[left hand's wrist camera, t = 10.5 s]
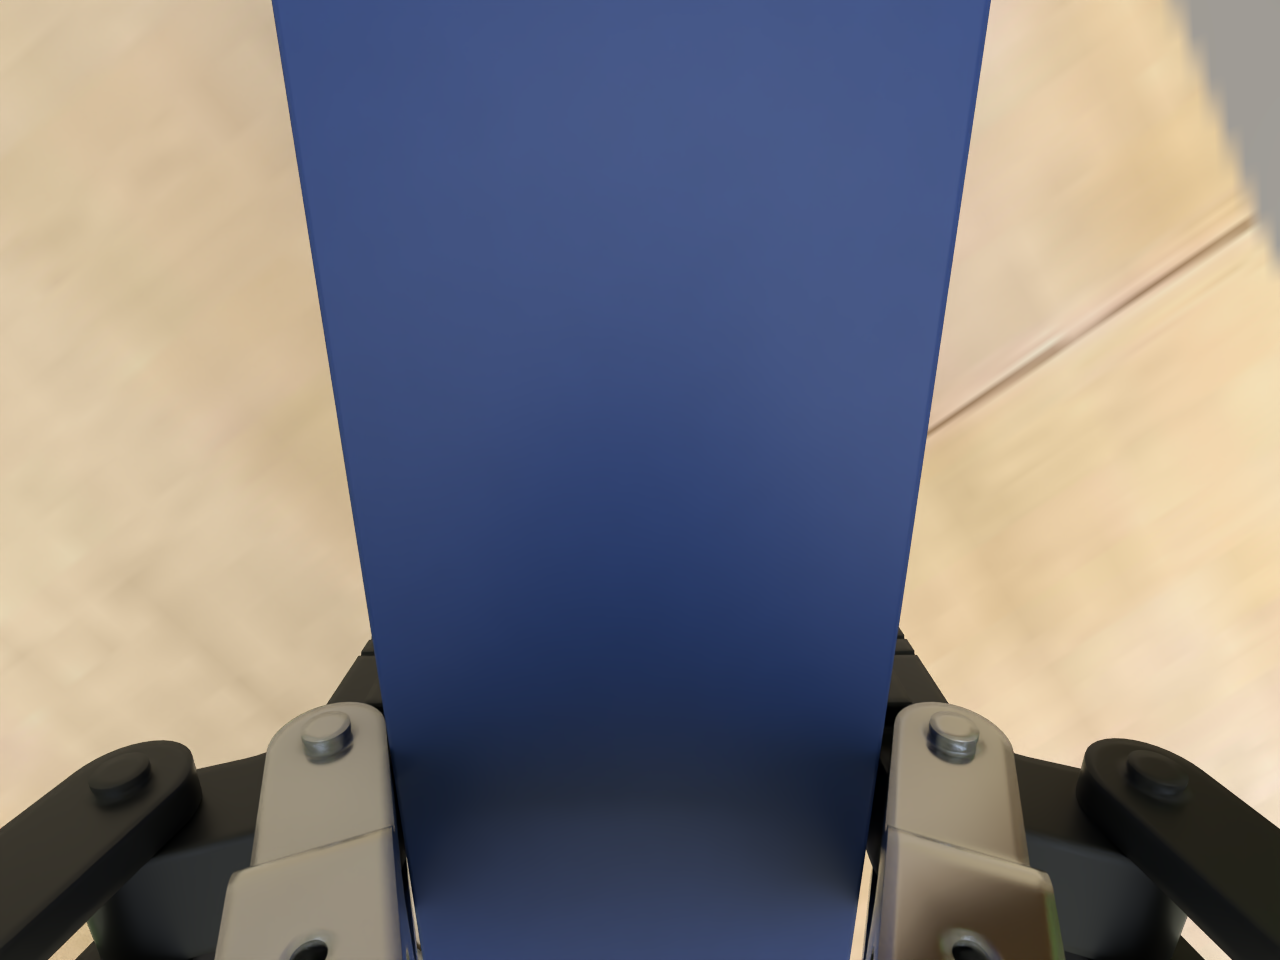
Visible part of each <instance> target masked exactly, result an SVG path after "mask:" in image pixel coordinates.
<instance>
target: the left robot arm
mask: <svg viewBox="0 0 1280 960" xmlns="http://www.w3.org/2000/svg"><path fill="white" fill-rule="evenodd" d="M866 850H867V853H868V856H869V859H870V861H871V864H872V871H871V878H870V886H869V895H868V905H867V915H866V924H865V934H864V943H863V953H862V960H1205V959H1204V958H1203V957H1202V956H1201V955H1200V954H1199V953H1198V952H1197V951H1196V950H1195V949H1194V948H1193V947H1192V946H1191V945H1190V944H1189V943H1188V942H1187V941H1186V940H1185V939H1184V938H1183V937H1182V936H1181V932H1182V930H1183V927H1184V924H1185V922H1186V919H1187V916H1188V917H1189V918H1190V919H1191V920H1192V921H1193V922H1194V923H1195V924H1196V925H1197V926H1198V927H1199V928H1200V929H1201V930H1202V931H1203V932H1204V933H1205V934H1206V935H1207V936H1208V937H1209V938H1210V939H1212V940H1213V941H1214V942H1215V943H1216V944H1217V945H1218V946H1219V947H1220V948H1221V949H1222V950H1223V951H1224V952H1225V953H1226V954H1227V955H1228V956H1229V957H1230V958H1231V959H1232V960H1280V829H1279V828H1278V827H1277V826H1275V825H1274V824H1273V823H1271V822H1270V821H1269V820H1267V819H1266V818H1265V817H1263V816H1262V815H1261V814H1259V813H1258V812H1257V811H1255V810H1254V809H1253V808H1251V807H1250V806H1249V805H1247V804H1246V803H1245V802H1244V801H1242V800H1241V799H1240V798H1238V797H1237V796H1236V795H1234V794H1233V793H1232V792H1230V791H1229V790H1228V789H1226V788H1225V787H1224V786H1222V785H1221V784H1220V783H1218V782H1217V781H1216V780H1215V779H1213V778H1212V777H1211V776H1209V775H1208V774H1207V773H1205V772H1204V771H1203V770H1201V769H1200V768H1198V767H1197V766H1195V765H1194V764H1193V763H1191V762H1189V761H1187V760H1186V759H1184V758H1182V757H1180V756H1178V755H1176V754H1174V753H1172V752H1170V751H1168V750H1165V749H1163V748H1160V747H1157V746H1154V745H1151V744H1148V743H1144V742H1140V741H1136V740H1130V739H1119V738H1112V739H1103V740H1100V741H1097V742H1095V743H1093V744H1091V745H1090V746H1089V747H1088V748H1087V750H1086V752H1085V756H1084V759H1083V763H1082V766H1081V769H1080V768H1075V767H1071V766H1066V765H1062V764H1057V763H1053V762H1048V761H1044V760H1039V759H1034V758H1030V757H1026V756H1022V755H1018V754H1015V753H1014V752H1013V749H1012V745H1011V743H1010V741H1009V740H1008V738H1007V737H1006V736H1005V734H1004V733H1003V732H1002V731H1001V730H1000V729H999V728H998V727H997V726H996V725H994V724H993V723H992V722H990V721H989V720H988V719H986V718H984V717H983V716H981V715H979V714H977V713H975V712H973V711H971V710H968V709H965V708H963V707H959V706H956V705H952V704H948V702H947V700H946V699H945V697H944V696H943V694H942V693H941V691H940V690H939V688H938V687H937V685H936V684H935V682H934V680H933V679H932V677H931V676H930V674H929V673H928V671H927V670H926V668H925V667H924V665H923V664H922V662H921V660H920V659H919V657H918V656H917V655H915V654H914V650H913V648H912V647H911V645H910V644H909V642H908V640H907V639H904V634H903V633H902V631H901V630H900V628H898V634H897V641H896V648H895V655H894V662H893V668H892V675H891V682H890V689H889V696H888V702H887V709H886V716H885V723H884V729H883V736H882V743H881V750H880V757H879V763H878V770H877V777H876V784H875V791H874V797H873V804H872V811H871V818H870V825H869V831H868V838H867V845H866ZM406 857H407V856H406V849H405V843H404V837H403V830H402V824H401V818H400V811H399V805H398V799H397V792H396V786H395V780H394V773H393V767H392V761H391V754H390V748H389V741H388V735H387V729H386V722H385V716H384V710H383V703H382V697H381V691H380V684H379V678H378V672H377V665H376V659H375V653H374V646H373V640H372V639H371V640H369V641H368V642H367V644H366V645H365V647H364V648H363V650H362V652H361V656H358V658H357V659H356V661H355V662H354V664H353V665H352V667H351V668H350V670H349V671H348V673H347V674H346V676H345V677H344V679H343V680H342V682H341V683H340V685H339V686H338V688H337V689H336V691H335V692H334V694H333V696H332V697H331V699H330V700H329V702H328V703H327V705H324V706H321V707H318V708H315V709H312V710H309V711H307V712H305V713H303V714H301V715H299V716H298V717H296V718H294V719H292V720H291V721H290V722H288V723H287V724H286V725H284V726H283V727H282V728H281V729H280V730H279V731H278V732H277V733H276V734H275V736H274V737H273V738H272V740H271V741H270V743H269V745H268V749H267V752H266V753H263V754H260V755H257V756H253V757H250V758H246V759H241V760H237V761H232V762H228V763H223V764H219V765H214V766H210V767H205V768H201V769H196V767H195V763H194V760H193V756H192V754H191V751H190V750H189V749H188V748H187V747H186V746H184V745H183V744H181V743H178V742H174V741H165V740H160V741H148V742H142V743H138V744H133V745H130V746H127V747H123V748H120V749H118V750H115V751H113V752H110V753H108V754H105V755H103V756H101V757H99V758H97V759H95V760H94V761H92V762H90V763H88V764H87V765H85V766H83V767H82V768H81V769H79V770H78V771H76V772H75V773H73V774H72V775H71V776H69V777H68V778H67V779H65V780H64V781H63V782H61V783H60V784H59V785H58V786H56V787H55V788H54V789H52V790H51V791H50V792H48V793H47V794H46V795H44V796H43V797H42V798H40V799H39V800H38V801H36V802H35V803H34V804H32V805H31V806H30V807H29V808H27V809H26V810H25V811H23V812H22V813H21V814H19V815H18V816H17V817H15V818H14V819H13V820H11V821H10V822H9V823H7V824H6V825H5V826H3V827H2V828H1V829H0V960H48V959H49V958H50V957H51V956H52V955H53V954H54V953H55V952H56V951H57V950H58V949H59V948H60V947H61V946H62V945H63V944H64V943H65V942H66V941H67V940H68V939H69V938H70V937H72V936H73V935H74V934H75V933H76V932H77V931H78V930H79V929H80V928H81V927H82V926H83V925H84V924H85V923H86V922H87V924H88V927H89V929H90V932H91V934H92V937H93V940H94V941H93V942H92V943H91V944H90V945H89V946H88V947H87V948H86V949H85V950H84V951H83V952H82V953H81V954H80V955H79V956H78V957H77V958H76V959H75V960H423V957H422V952H421V951H420V950H419V949H418V948H417V943H416V934H415V924H414V915H413V905H412V895H411V886H410V878H409V871H408V865H407V858H406Z"/></svg>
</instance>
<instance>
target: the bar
mask: <svg viewBox="0 0 1280 960" xmlns="http://www.w3.org/2000/svg"><path fill="white" fill-rule="evenodd" d="M990 3H991V0H272V5H273V12H274V18H275V24H276V31H277V37H278V44H279V50H280V56H281V63H282V69H283V75H284V82H285V88H286V94H287V101H288V107H289V113H290V120H291V126H292V132H293V139H294V145H295V151H296V158H297V164H298V170H299V177H300V183H301V189H302V196H303V202H304V209H305V215H306V221H307V228H308V234H309V240H310V247H311V253H312V259H313V266H314V272H315V278H316V285H317V291H318V297H319V304H320V310H321V316H322V323H323V329H324V335H325V342H326V348H327V354H328V361H329V367H330V373H331V380H332V386H333V393H334V399H335V405H336V412H337V418H338V424H339V431H340V437H341V443H342V450H343V456H344V462H345V469H346V475H347V481H348V488H349V494H350V500H351V507H352V513H353V519H354V526H355V532H356V538H357V545H358V551H359V557H360V564H361V570H362V577H363V583H364V589H365V596H366V602H367V608H368V615H369V621H370V627H371V634H372V640H373V646H374V653H375V659H376V665H377V672H378V678H379V684H380V691H381V697H382V703H383V710H384V716H385V722H386V729H387V735H388V741H389V748H390V754H391V761H392V767H393V773H394V780H395V786H396V792H397V799H398V805H399V811H400V818H401V824H402V830H403V837H404V843H405V849H406V856H407V862H408V868H409V875H410V881H411V887H412V894H413V900H414V906H415V913H416V919H417V925H418V932H419V938H420V945H421V951H422V957H423V960H850V954H851V947H852V940H853V933H854V926H855V920H856V913H857V906H858V899H859V892H860V886H861V879H862V872H863V865H864V859H865V852H866V845H867V838H868V831H869V825H870V818H871V811H872V804H873V797H874V791H875V784H876V777H877V770H878V763H879V757H880V750H881V743H882V736H883V729H884V723H885V716H886V709H887V702H888V696H889V689H890V682H891V675H892V668H893V662H894V655H895V648H896V641H897V634H898V628H899V621H900V614H901V607H902V600H903V594H904V587H905V580H906V573H907V567H908V560H909V553H910V546H911V539H912V533H913V526H914V519H915V512H916V505H917V499H918V492H919V485H920V478H921V471H922V465H923V458H924V451H925V444H926V437H927V431H928V424H929V417H930V410H931V404H932V397H933V390H934V383H935V376H936V370H937V363H938V356H939V349H940V342H941V336H942V329H943V322H944V315H945V308H946V302H947V295H948V288H949V281H950V274H951V268H952V261H953V254H954V247H955V241H956V234H957V227H958V220H959V213H960V207H961V200H962V193H963V186H964V179H965V173H966V166H967V159H968V152H969V145H970V139H971V132H972V125H973V118H974V112H975V105H976V98H977V91H978V84H979V78H980V71H981V64H982V57H983V50H984V44H985V37H986V30H987V23H988V16H989V10H990Z"/></svg>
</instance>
